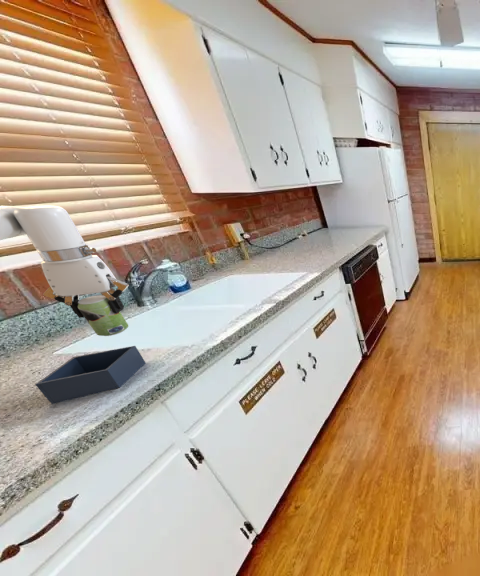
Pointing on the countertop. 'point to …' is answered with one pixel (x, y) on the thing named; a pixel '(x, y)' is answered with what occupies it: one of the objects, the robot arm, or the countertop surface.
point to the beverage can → (102, 316)
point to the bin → (91, 374)
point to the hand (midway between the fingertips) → (102, 312)
